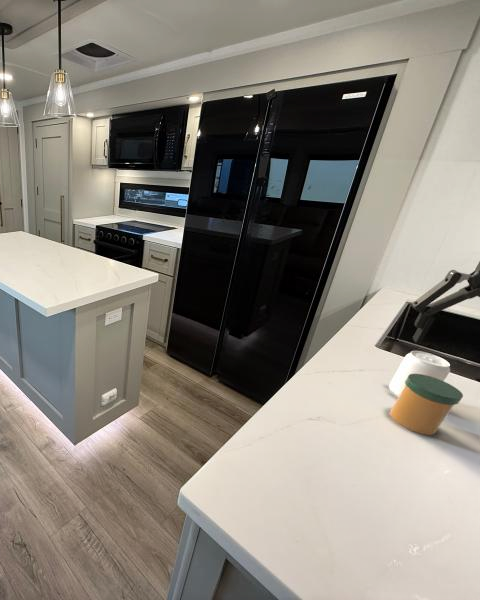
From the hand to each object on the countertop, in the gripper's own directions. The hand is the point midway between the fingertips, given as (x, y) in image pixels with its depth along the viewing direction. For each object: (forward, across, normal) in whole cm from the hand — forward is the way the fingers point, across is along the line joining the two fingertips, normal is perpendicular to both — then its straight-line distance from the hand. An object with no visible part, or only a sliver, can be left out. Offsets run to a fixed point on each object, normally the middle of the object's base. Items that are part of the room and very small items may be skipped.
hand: (456, 350), depth 67 cm
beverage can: (+21, -2, -13) cm, 24 cm away
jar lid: (+10, 0, 0) cm, 10 cm away
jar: (+20, 0, 0) cm, 20 cm away
